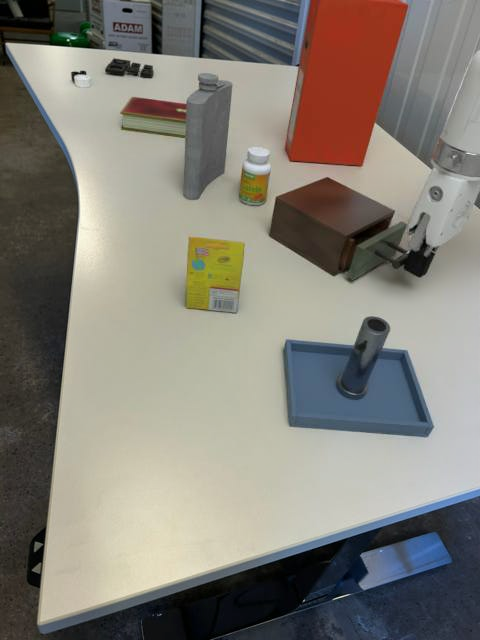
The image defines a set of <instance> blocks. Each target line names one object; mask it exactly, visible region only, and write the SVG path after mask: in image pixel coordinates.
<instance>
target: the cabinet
mask: <svg viewBox="0 0 480 640" xmlns="http://www.w3.org/2000/svg"><path fill="white" fill-rule="evenodd" d="M395 212H396V210H395V209H393V208H392V207H389V206H387V205H385V204H383V203H381V202H379V201H377V200H374V199H372V198H370V197H369V196H367V195H365V194H363V193H360V192H359V191H356V190H355V189H353V188H350V187H348V186H347V185H345V184H343V183H340V182H339V181H337V180H334V179H333V178H330V177H329V176H326V177H323V178H321V179H318V180H316V181H313V182H310V183H307V184H305V185H303V186H300V187H297V188H295V189H292V190H289V191H287V192H284V193H282V194H279V195H276V196H275V198H274V205H273V210H272V216H271V222H270V227H269V233H268V237H270V238H271V239H273V240H275V241H276V242H278V243H279V244H281V245H283V246H285V247H286V248H288V249H289V250H291V251H292V252H294V253H296V254H297V255H299V256H300V257H302V258H304V259H305V260H307V261H309V262H310V263H311V264H313V265H315V266H317V267H319V268H320V269H322V270H323V271H325V272H326V273H328V274H330V275H331V276H333V277H336V276H337V275H339V274H341V273H343V272H344V271H346V270H349V269H350V266H351V265H350V266H348V267H347V268H345V269H342V268H341V267H339V266H340V263H341V260H342V256H343V253H344V250H345V246H346V243H347V240H348V239H349V238H351V237H352V236H354V235H356V234H358V233H360V232H362V231H364V230H366V229H368V228H370V227H371V226H373V225H375V224H377V223H379V222H381V221H383V220H385V219H387V218H389V219H391V220H392V221H393V218H394V215H395V214H396V213H395Z"/></svg>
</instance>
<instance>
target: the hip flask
mask: <svg viewBox="0 0 480 640" xmlns="http://www.w3.org/2000/svg"><path fill="white" fill-rule="evenodd" d="M197 81H198V89H196V90H195V91H193V92H192V93H191V94H190V95H189V96H188V97H187V98H186V103H185V104H186V131H185V138H184V164H183V165H184V166H183V190H182V191H183V193H182V195H183V196H182V197H184V198H185V199H186V200H191V201H195V200H198V199H200V197H201V195H202V193H203V192H204V190H205V189H206V188H207V187H208V186H209V185H210V184H211V183H212V182H214V180H216V179H217V178H219V177H220V176H222V175H223V174H225V171H226V170H225V169H226V162H227V161H226V160H227V149H228V138H229V128H230V118H231V117H230V116H231V106H232V95H233V82H231V81H229V80H224V79H220V80H219V76H218V75H217V74H214V73H209V72H201V73H199V74H197Z"/></svg>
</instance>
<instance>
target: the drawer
mask: <svg viewBox="0 0 480 640" xmlns="http://www.w3.org/2000/svg"><path fill="white" fill-rule="evenodd" d="M392 221H393V219H392V220H391V219H389V218H387V219H385V220H383V221H381V222H379V223H377V224H375V225H373V226H371V227H370V228H368V229H366V230H364V231H362V232H360V233H358V234H356V235H354V236H352V237H351V238H349V239H348V240H347V243H346V246H345V250H344V253H343V256H342V260H341V263H340V266H339V267H341V268H342V269H345V268H347V267H348V266H350V265H351V266H350V267H349V268H348V273H347V275H346V277H347V278H349V279H350V280H352V281H354V280H356V279H357V278H359V277H361V276H362V275H364V274H365V273H366V272H368V271H370V270H372V269H374V268H375V267H377V266H378V265H380V264H381V263H383V262H385V261H386V262H388V263H389V264H391V267H392V269H394V270H398V269H399V268H401V267H403V266H404V264H405V262H406V259H407V257H408V254H409V252H410V250H407V249H405V248H403V247H402V246H400V245H401V241H402V240H403V236H404V234H405V232H406V229H407V226H408V223H406V222H404V221H399V222H396V224H393V225H392V226H391V224H392ZM397 253H400V254H402V255H400V256H399V257H396V258H395V259H394V258H393V256H394V255H396V254H397Z"/></svg>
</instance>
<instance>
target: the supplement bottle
mask: <svg viewBox="0 0 480 640" xmlns="http://www.w3.org/2000/svg"><path fill="white" fill-rule="evenodd" d="M270 155H271V154H270V151H269V149H267V148H265V147H260V146H251V147H249V148H248V149H247V155H246V156H247V158H246V159H245V160H244V161H243V162H242V166H241V174H240V182H239V191H238V199H239V200H240V202H242V203H243V204H245V205H248V206H261V205H263V204H265V203H266V201H267V198H268V197H267V196H268V189H269V185H270V184H269V183H270V177H271V171H272V166H271V164H270V162H269V160H270Z"/></svg>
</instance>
